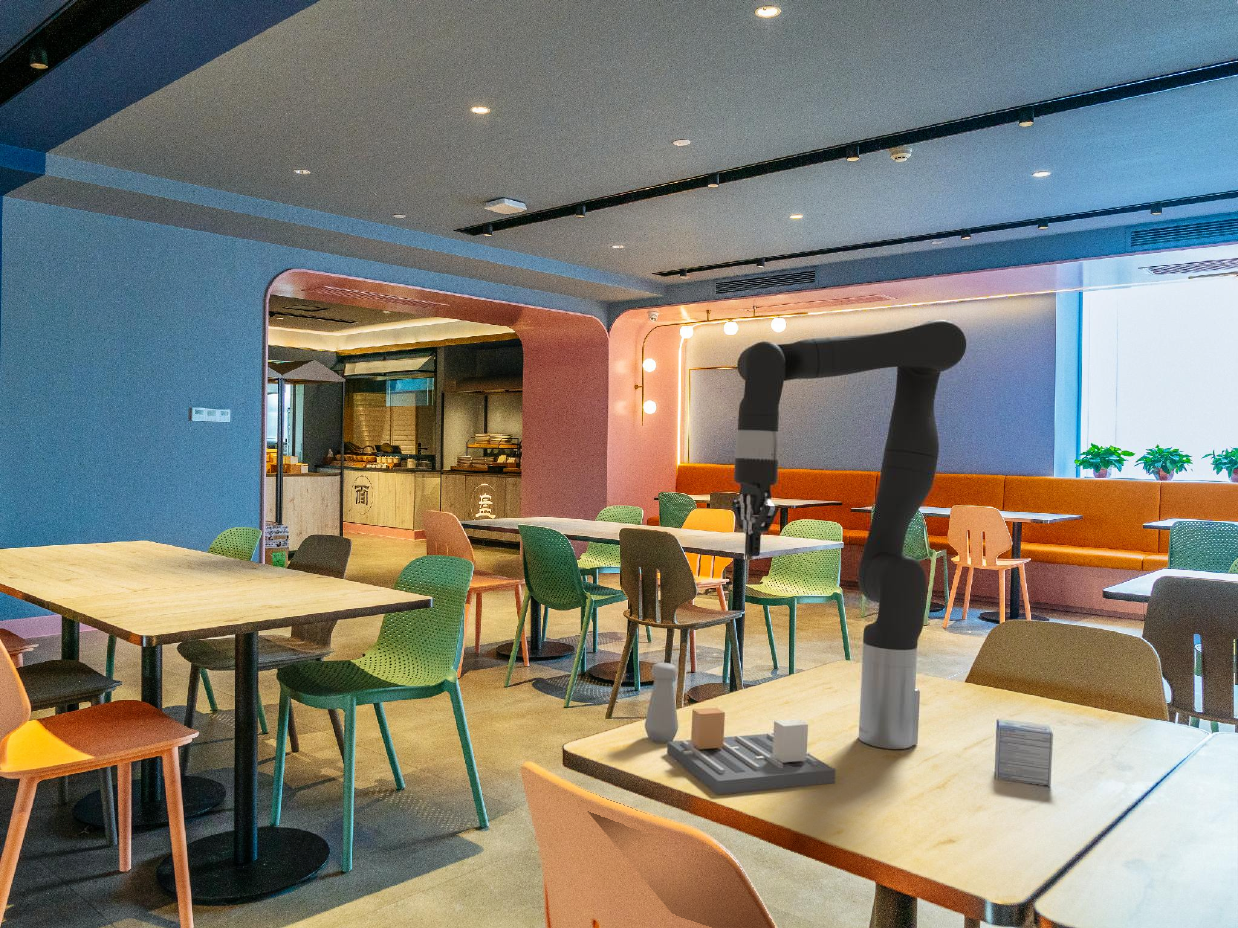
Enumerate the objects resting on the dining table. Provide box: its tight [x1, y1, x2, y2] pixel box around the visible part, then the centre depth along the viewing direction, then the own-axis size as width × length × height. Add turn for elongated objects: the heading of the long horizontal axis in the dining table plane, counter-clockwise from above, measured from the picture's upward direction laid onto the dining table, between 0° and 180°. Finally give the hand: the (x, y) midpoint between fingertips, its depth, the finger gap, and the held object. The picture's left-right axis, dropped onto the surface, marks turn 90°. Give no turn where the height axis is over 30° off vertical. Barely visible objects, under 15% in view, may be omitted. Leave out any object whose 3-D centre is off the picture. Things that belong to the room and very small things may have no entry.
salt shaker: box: [644, 662, 680, 744], centre depth 151 cm, size 6×6×13 cm
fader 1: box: [690, 707, 726, 749], centre depth 142 cm, size 4×3×6 cm, turn 111°
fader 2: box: [772, 718, 809, 763], centre depth 137 cm, size 4×3×6 cm, turn 111°
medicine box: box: [994, 718, 1054, 787], centre depth 140 cm, size 8×4×9 cm, turn 71°
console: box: [666, 732, 836, 796], centre depth 139 cm, size 20×18×3 cm
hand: (752, 555), depth 154 cm, fingers closed
